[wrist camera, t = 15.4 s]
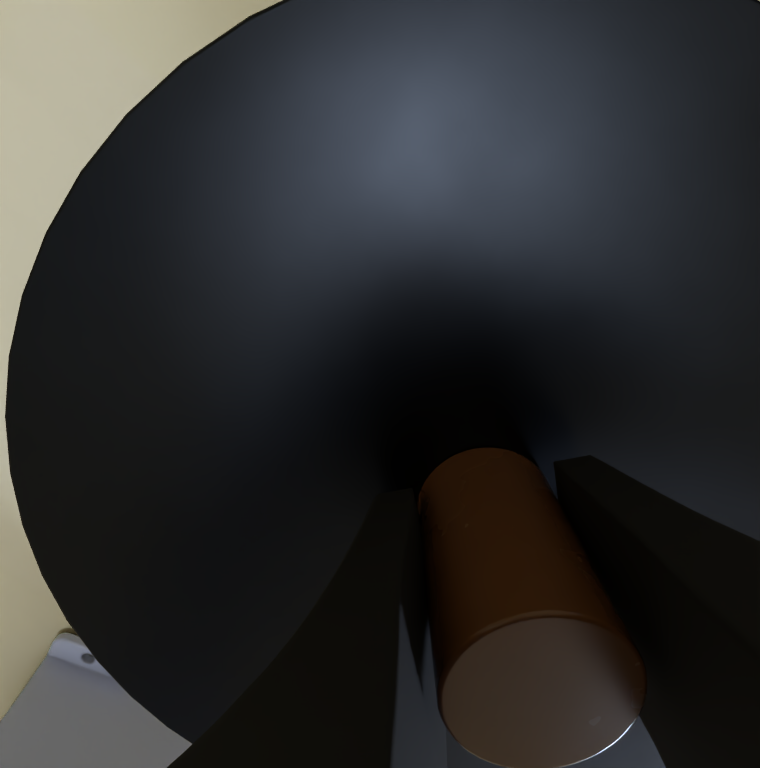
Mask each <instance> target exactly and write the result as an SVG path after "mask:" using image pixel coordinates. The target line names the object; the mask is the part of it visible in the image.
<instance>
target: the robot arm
mask: <svg viewBox="0 0 760 768" xmlns="http://www.w3.org/2000/svg"><path fill="white" fill-rule="evenodd" d="M553 463H554V471H555V479H556V488H557V496H558V502H559V504H560V506H561V507H562V509H563V511H564V513H565V515H566V517H567V519H568V520H569V522H570V524H571V526H572V528H573V530H574V531H575V533H576V535H577V537H578V539H579V541H580V543H581V544H582V546H583V548H584V550H585V552H586V554H587V556H588V557H589V559H590V561H591V563H592V565H593V567H594V569H595V570H596V572H597V574H598V576H599V578H600V580H601V581H602V583H603V585H604V587H605V589H606V591H607V593H608V594H609V596H610V598H611V600H612V602H613V604H614V606H615V607H616V609H617V611H618V613H619V615H620V617H621V619H622V620H623V622H624V624H625V626H626V628H627V630H628V631H629V633H630V635H631V637H632V639H633V641H634V643H635V644H636V646H637V648H638V650H639V652H640V654H641V656H642V658H643V660H644V664H645V667H646V672H647V694H646V699H645V703H644V706H643V708H642V710H641V713H640V715H639V716H640V718H641V720H642V722H643V724H644V726H645V728H646V729H647V731H648V733H649V735H650V737H651V739H652V741H653V743H654V744H655V746H656V748H657V751H658V753H659V755H660V757H661V759H662V761H663V763H664V765H665V767H666V768H760V541H759V540H756V539H754V538H752V537H750V536H747V535H745V534H743V533H741V532H739V531H736V530H734V529H732V528H730V527H728V526H725V525H723V524H721V523H719V522H717V521H714V520H712V519H710V518H708V517H706V516H704V515H702V514H700V513H698V512H696V511H694V510H692V509H690V508H688V507H686V506H684V505H682V504H680V503H678V502H676V501H674V500H672V499H670V498H669V497H667V496H665V495H663V494H661V493H659V492H657V491H655V490H654V489H652V488H650V487H648V486H646V485H644V484H643V483H641V482H639V481H637V480H635V479H634V478H632V477H630V476H628V475H626V474H625V473H623V472H621V471H619V470H617V469H616V468H614V467H612V466H610V465H608V464H607V463H605V462H603V461H601V460H599V459H597V458H595V457H593V456H591V455H587V456H581V457H576V458H571V459H565V460H560V461H554V462H553ZM89 654H91V652H90V651H89V650H88V648H87V647H86V646H85V644H84V643H83V641H82V640H81V639H80V637H79V636H76V635H74V634H71V633H61V634H59V635H57V637H56V638H55V639H54V641H53V642H52V644H51V646H50V648H49V651H48V653H47V656H46V657H45V658H44V660H43V661H42V663H41V664H40V666H39V667H38V668H37V670H36V671H35V673H34V674H33V676H32V677H31V678H30V680H29V681H28V683H27V684H26V686H25V687H24V689H23V690H22V691H21V693H20V694H19V696H18V697H17V699H16V700H15V701H14V703H13V704H12V706H11V707H10V709H9V710H8V712H7V713H6V714H5V716H4V717H3V718H2V719H1V721H0V768H447V748H446V727H445V725H444V723H443V721H442V719H441V717H440V714H439V710H438V706H437V697H436V688H435V678H434V669H433V659H432V650H431V640H430V631H429V621H428V612H427V602H426V593H425V583H424V564H423V549H422V540H421V531H420V522H419V515H418V511H417V506H416V502H415V497H414V493H413V488H408V489H402V490H397V491H392V492H386V493H381V494H377V496H376V497H375V499H374V500H373V501H372V504H371V506H370V508H369V510H368V512H367V515H366V517H365V519H364V521H363V523H362V525H361V527H360V529H359V531H358V533H357V535H356V537H355V539H354V541H353V542H352V544H351V546H350V548H349V549H348V551H347V553H346V555H345V557H344V558H343V560H342V562H341V564H340V565H339V567H338V569H337V571H336V572H335V574H334V576H333V577H332V579H331V580H330V582H329V583H328V585H327V586H326V588H325V590H324V591H323V593H322V594H321V596H320V597H319V599H318V600H317V602H316V603H315V605H314V606H313V608H312V609H311V611H310V612H309V614H308V615H307V617H306V618H305V619H304V621H303V622H302V624H301V625H300V626H299V628H298V629H297V630H296V632H295V633H294V634H293V636H292V637H291V638H290V640H289V641H288V642H287V643H286V645H285V646H284V647H283V648H282V650H281V651H280V652H279V653H278V655H277V656H276V657H275V658H274V660H273V661H272V662H271V663H270V664H269V666H268V667H267V668H266V669H265V670H264V671H263V672H262V673H261V674H260V675H259V676H258V678H257V679H256V680H255V681H254V682H253V683H252V684H251V685H250V686H249V687H248V688H247V689H246V690H245V691H244V692H243V693H242V695H241V696H240V697H239V698H238V699H237V700H236V701H235V702H234V703H233V704H232V705H231V706H230V707H229V708H228V709H227V711H226V712H225V713H224V714H223V715H222V716H221V717H220V718H219V719H218V720H217V721H216V722H215V723H214V724H213V725H212V726H211V727H210V728H209V729H208V730H207V731H206V732H205V733H203V734H202V735H201V736H200V737H199V738H198V739H197V740H196V741H195V742H194V743H193V744H192V743H190V742H189V741H187V740H186V739H184V738H183V737H181V736H180V735H178V734H177V733H175V732H174V731H172V730H171V729H169V728H168V727H166V726H165V725H164V724H163V723H162V722H160V721H159V720H158V719H157V718H156V717H154V716H153V715H152V714H151V713H150V712H148V711H147V710H146V709H145V708H144V707H142V706H141V705H140V704H139V703H138V702H137V701H135V700H134V699H133V698H132V697H131V696H130V695H129V694H128V693H127V692H126V691H125V690H124V689H123V688H122V687H121V686H120V685H119V684H118V683H117V682H116V681H115V680H114V678H113V677H112V676H111V675H110V674H109V673H108V672H107V671H106V670H105V669H104V668H103V667H102V666H101V665H100V664H99V663H98V662H97V660H96V659H95V658H94V656H92V654H91V655H89Z"/></svg>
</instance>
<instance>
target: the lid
mask: <svg viewBox="0 0 760 768" xmlns="http://www.w3.org/2000/svg"><path fill="white" fill-rule="evenodd" d="M5 419H6V431H7V442H8V454H9V465H10V474H11V478H12V483H13V487H14V491H15V495H16V500H17V504H18V508H19V512H20V516H21V521H22V525H23V528H24V531H25V533H26V536H27V538H28V541H29V543H30V546H31V548H32V551H33V554H34V556H35V559H36V561H37V564H38V566H39V569H40V572H41V574H42V576H43V578H44V580H45V582H46V583H47V585H48V587H49V589H50V591H51V592H52V594H53V596H54V598H55V600H56V601H57V603H58V605H59V607H60V609H61V611H62V612H63V614H64V616H65V618H66V620H67V621H68V622H69V624H70V625H71V626H72V628H73V629H74V631H75V632H76V633H77V635H78V636H79V637H80V639H81V640H82V641H83V643H84V644H85V646H86V647H87V648H88V650H89V651H90V652H91V654H92V655H93V656H94V658H95V659H96V660H97V662H98V663H99V664H100V665H101V666H102V667H103V668H104V669H105V670H106V671H107V672H108V673H109V674H110V675H111V676H112V677H113V678H114V680H115V681H116V682H117V683H118V684H119V685H120V686H121V687H122V688H123V689H124V690H125V691H126V692H127V693H128V694H129V695H130V696H131V697H132V698H133V699H134V700H135V701H137V702H138V703H139V704H140V705H141V706H142V707H144V708H145V709H146V710H147V711H148V712H150V713H151V714H152V715H153V716H154V717H156V718H157V719H158V720H159V721H160V722H162V723H163V724H164V725H165V726H166V727H168V728H169V729H171V730H172V731H174V732H175V733H177V734H178V735H180V736H181V737H183V738H184V739H186V740H187V741H189V742H190V743H192V744H193V743H194V742H195V741H196V740H197V739H198V738H199V737H200V736H201V735H202V734H203V733H205V732H206V731H207V730H208V729H209V728H210V727H211V726H212V725H213V724H214V723H215V722H216V721H217V720H218V719H219V718H220V717H221V716H222V715H223V714H224V713H225V712H226V711H227V709H228V708H229V707H230V706H231V705H232V704H233V703H234V702H235V701H236V700H237V699H238V698H239V697H240V696H241V695H242V693H243V692H244V691H245V690H246V689H247V688H248V687H249V686H250V685H251V684H252V683H253V682H254V681H255V680H256V679H257V678H258V676H259V675H260V674H261V673H262V672H263V671H264V670H265V669H266V668H267V667H268V666H269V664H270V663H271V662H272V661H273V660H274V658H275V657H276V656H277V655H278V653H279V652H280V651H281V650H282V648H283V647H284V646H285V645H286V643H287V642H288V641H289V640H290V638H291V637H292V636H293V634H294V633H295V632H296V630H297V629H298V628H299V626H300V625H301V624H302V622H303V621H304V619H305V618H306V617H307V615H308V614H309V612H310V611H311V609H312V608H313V606H314V605H315V603H316V602H317V600H318V599H319V597H320V596H321V594H322V593H323V591H324V590H325V588H326V586H327V585H328V583H329V582H330V580H331V579H332V577H333V576H334V574H335V572H336V571H337V569H338V567H339V565H340V564H341V562H342V560H343V558H344V557H345V555H346V553H347V551H348V549H349V548H350V546H351V544H352V542H353V541H354V539H355V537H356V535H357V533H358V531H359V529H360V527H361V525H362V523H363V521H364V519H365V517H366V515H367V512H368V510H369V508H370V506H371V504H372V501H373V500H374V499H375V497H376V496H377V494H381V493H386V492H392V491H397V490H402V489H408V488H413V493H414V497H415V502H416V506H417V511H418V515H419V522H420V531H421V540H422V549H423V564H424V583H425V593H426V602H427V612H428V621H429V631H430V640H431V650H432V659H433V669H434V678H435V688H436V697H437V706H438V710H439V714H440V717H441V719H442V721H443V723H444V725H445V727H446V748H447V768H666V767H665V765H664V763H663V761H662V759H661V757H660V755H659V753H658V751H657V748H656V746H655V744H654V743H653V741H652V739H651V737H650V735H649V733H648V731H647V729H646V728H645V726H644V724H643V722H642V720H641V718H640V716H639V715H640V713H641V710H642V708H643V706H644V703H645V699H646V694H647V672H646V667H645V664H644V660H643V658H642V656H641V654H640V652H639V650H638V648H637V646H636V644H635V643H634V641H633V639H632V637H631V635H630V633H629V631H628V630H627V628H626V626H625V624H624V622H623V620H622V619H621V617H620V615H619V613H618V611H617V609H616V607H615V606H614V604H613V602H612V600H611V598H610V596H609V594H608V593H607V591H606V589H605V587H604V585H603V583H602V581H601V580H600V578H599V576H598V574H597V572H596V570H595V569H594V567H593V565H592V563H591V561H590V559H589V557H588V556H587V554H586V552H585V550H584V548H583V546H582V544H581V543H580V541H579V539H578V537H577V535H576V533H575V531H574V530H573V528H572V526H571V524H570V522H569V520H568V519H567V517H566V515H565V513H564V511H563V509H562V507H561V506H560V504H559V502H558V496H557V488H556V479H555V471H554V463H553V462H554V461H560V460H565V459H571V458H576V457H581V456H587V455H591V456H593V457H595V458H597V459H599V460H601V461H603V462H605V463H607V464H608V465H610V466H612V467H614V468H616V469H617V470H619V471H621V472H623V473H625V474H626V475H628V476H630V477H632V478H634V479H635V480H637V481H639V482H641V483H643V484H644V485H646V486H648V487H650V488H652V489H654V490H655V491H657V492H659V493H661V494H663V495H665V496H667V497H669V498H670V499H672V500H674V501H676V502H678V503H680V504H682V505H684V506H686V507H688V508H690V509H692V510H694V511H696V512H698V513H700V514H702V515H704V516H706V517H708V518H710V519H712V520H714V521H717V522H719V523H721V524H723V525H725V526H728V527H730V528H732V529H734V530H736V531H739V532H741V533H743V534H745V535H747V536H750V537H752V538H754V539H756V540H759V541H760V2H759V1H757V0H282V1H280V2H278V3H276V4H274V5H272V6H270V7H268V8H266V9H264V10H261V11H259V12H257V13H255V14H253V15H251V16H249V17H248V18H246V19H245V20H243V21H242V22H240V23H239V24H237V25H236V26H234V27H233V28H231V29H230V30H228V31H227V32H226V33H224V34H223V35H221V36H220V37H218V38H217V39H215V40H214V41H212V42H211V43H209V44H208V45H206V46H205V47H203V48H202V49H201V50H199V51H198V52H196V53H195V54H193V55H192V56H190V57H189V58H187V59H186V60H184V61H183V62H182V63H181V64H180V65H179V66H178V67H176V68H175V69H174V70H173V71H172V72H171V73H170V74H169V75H168V76H167V77H166V78H165V79H164V80H162V81H161V82H160V83H159V84H158V85H157V86H156V87H155V88H154V89H153V90H152V91H151V92H150V93H148V94H147V95H146V96H145V97H144V98H143V99H142V100H141V101H140V102H139V103H138V104H137V105H136V106H134V107H133V108H132V109H131V110H130V111H129V112H128V113H127V114H126V115H125V116H124V118H123V119H122V120H121V121H120V123H119V124H118V125H117V126H116V128H115V129H114V130H113V132H112V133H111V134H110V135H109V137H108V138H107V139H106V140H105V142H104V143H103V144H102V145H101V147H100V148H99V149H98V150H97V152H96V153H95V154H94V155H93V157H92V158H91V159H90V161H89V162H88V163H87V164H86V166H85V167H84V168H83V169H82V171H81V172H80V174H79V176H78V177H77V179H76V181H75V183H74V184H73V186H72V188H71V190H70V191H69V193H68V195H67V197H66V198H65V200H64V202H63V204H62V205H61V207H60V209H59V211H58V212H57V214H56V216H55V218H54V219H53V221H52V223H51V225H50V226H49V228H48V230H47V232H46V234H45V236H44V239H43V242H42V244H41V247H40V250H39V252H38V255H37V257H36V260H35V263H34V265H33V268H32V270H31V273H30V276H29V278H28V281H27V284H26V286H25V289H24V291H23V294H22V298H21V302H20V307H19V312H18V316H17V321H16V326H15V330H14V335H13V340H12V344H11V349H10V353H9V362H8V379H7V395H6V411H5Z"/></svg>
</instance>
